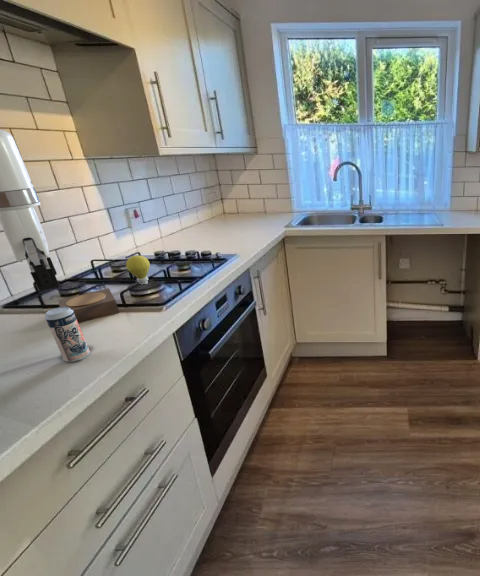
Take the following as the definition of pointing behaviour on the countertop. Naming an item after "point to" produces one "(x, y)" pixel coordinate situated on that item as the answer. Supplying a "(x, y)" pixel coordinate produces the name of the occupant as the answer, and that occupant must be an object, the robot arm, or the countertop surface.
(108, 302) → the block
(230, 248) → the countertop surface
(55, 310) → the beer can
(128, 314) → the countertop surface
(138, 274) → the light bulb
